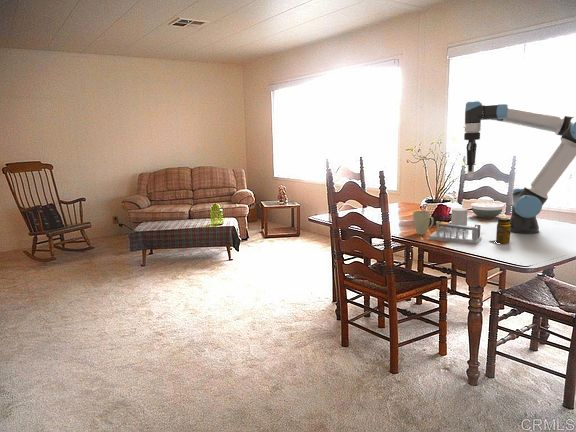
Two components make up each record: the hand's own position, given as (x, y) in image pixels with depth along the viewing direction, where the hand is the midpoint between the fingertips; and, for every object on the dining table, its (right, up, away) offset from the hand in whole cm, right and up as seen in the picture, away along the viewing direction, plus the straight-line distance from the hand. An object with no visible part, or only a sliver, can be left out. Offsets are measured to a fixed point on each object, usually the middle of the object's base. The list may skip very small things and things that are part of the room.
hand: (470, 177), depth 218 cm
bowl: (+29, -21, +43) cm, 56 cm away
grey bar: (-9, -27, -7) cm, 30 cm away
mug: (-22, -30, +9) cm, 39 cm away
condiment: (+9, -34, -15) cm, 38 cm away
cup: (-1, -29, +13) cm, 32 cm away
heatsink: (-10, -33, -5) cm, 34 cm away
